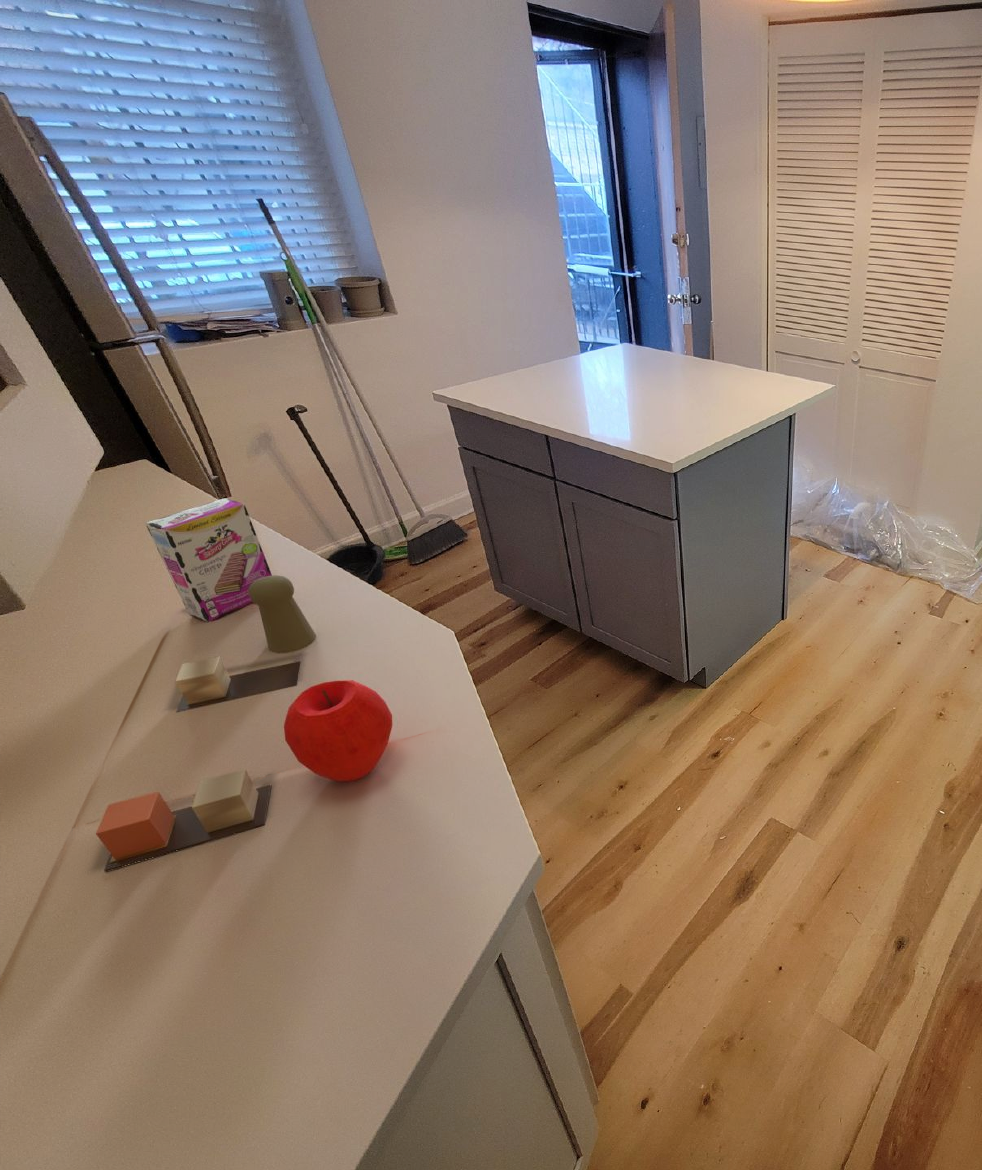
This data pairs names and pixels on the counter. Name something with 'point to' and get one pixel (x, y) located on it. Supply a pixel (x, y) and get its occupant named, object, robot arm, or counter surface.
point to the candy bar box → (211, 556)
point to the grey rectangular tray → (229, 682)
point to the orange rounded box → (135, 825)
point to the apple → (338, 729)
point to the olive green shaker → (281, 614)
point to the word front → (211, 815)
